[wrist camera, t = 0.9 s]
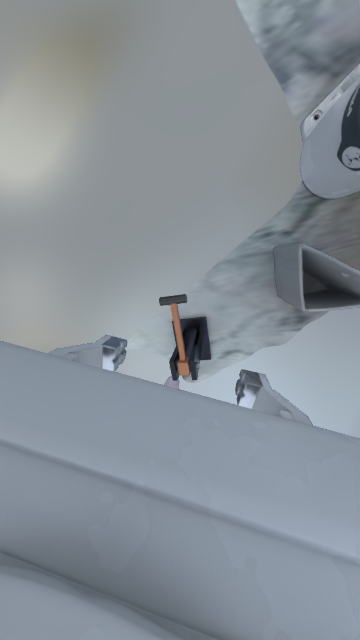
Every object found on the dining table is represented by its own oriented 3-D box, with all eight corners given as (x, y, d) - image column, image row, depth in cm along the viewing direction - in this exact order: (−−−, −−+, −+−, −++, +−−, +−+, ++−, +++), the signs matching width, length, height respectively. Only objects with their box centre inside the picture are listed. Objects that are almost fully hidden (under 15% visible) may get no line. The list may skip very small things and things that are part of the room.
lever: (161, 296, 37) (157, 298, 34) (186, 293, 36) (184, 295, 33) (175, 369, 41) (172, 375, 39) (197, 368, 40) (196, 374, 38)
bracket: (172, 320, 52) (155, 344, 37) (206, 316, 50) (202, 341, 35) (179, 359, 55) (166, 396, 40) (211, 357, 53) (209, 396, 38)
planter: (250, 276, 45) (275, 289, 26) (275, 246, 42) (321, 237, 24) (305, 316, 45) (366, 355, 27) (333, 289, 42) (421, 312, 24)
